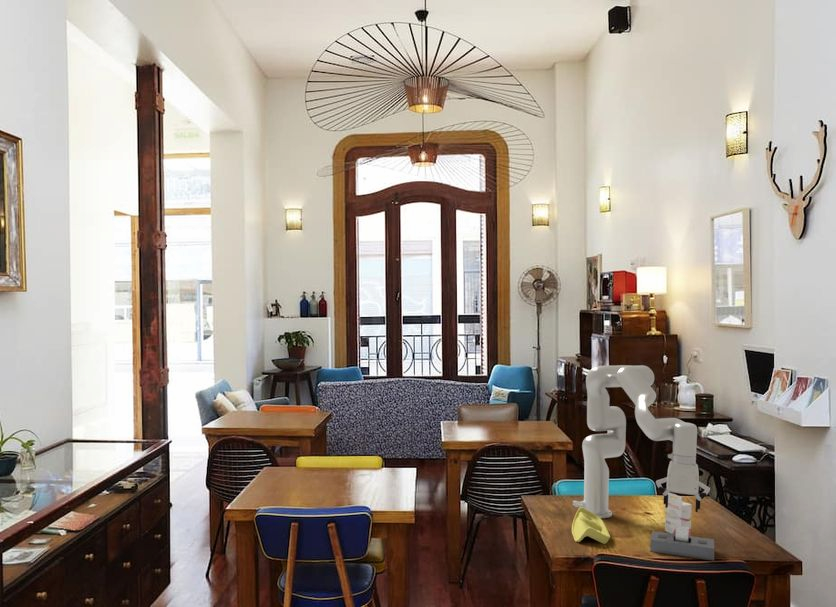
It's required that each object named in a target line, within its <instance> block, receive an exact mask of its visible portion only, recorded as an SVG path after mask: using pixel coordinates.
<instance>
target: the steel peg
mask: <svg viewBox="0 0 836 607" xmlns="http://www.w3.org/2000/svg"><path fill="white" fill-rule="evenodd" d="M675 541H678V542H685V543H689V527H685V526H678V525H676V539H675Z"/></svg>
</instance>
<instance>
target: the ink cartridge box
mask: <svg viewBox="0 0 836 607" xmlns="http://www.w3.org/2000/svg"><path fill="white" fill-rule="evenodd" d="M664 509H665V510H664V513H665V514H664V515H665V516H664V517H665V518H664V531H665V533H671V534H676V525H678V526H685V527H689V536H692V504H691V503H688V502H686V501H683V496H680V495H677V494H676V493H673V492H669V493H668V508H664Z"/></svg>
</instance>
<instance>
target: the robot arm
mask: <svg viewBox="0 0 836 607" xmlns="http://www.w3.org/2000/svg"><path fill="white" fill-rule="evenodd" d="M654 382H655V373H654V372H653V370H652V369H651V368H650V367H649V366H647V365H643V364H641V365H629V364H628V365H626V364H625V365H624V364H623V365H622V364H620V365H618V364H617V365H599V366H595V367H592V368H591V369H589V370H588V372H587V374H586V377H585V386H586V387H585V388H586V394H587V400H586V402H587V403H586V424H587V427H588V428H589V430H591V431H594V432H606V431H607V433H595V434H590V435H588V436H586V437H585V438H584V439H583V441H582V443H581V444H582V445H581V448H582V454H583V455H582V456H583V460H584V461H583V463H584V464H583V465H584V466H583V467H584V471H583V475H584V479H583V500H581V501H578V500H572V506H574V507H575V508H580V507H583V508H585V509H587V510H589V511H590V512H592V513H594V514H595V515H597V516H598V517H599V518H601V519H609V518H611V517H612V516H613V512H612V510H610V509H609V492H610V491H609V488H610V487H609V486H610V483H609V482H610V480H609V478H610V469H609V467H608V464H607V462H606V460H605V459H610V458H611V459H612V458H618V457H620V456H622V455H623V454H624V452H625V450H626V440H627V439H626V437H627V436H626V435H627V434H626V432H627V431H626V430H627V428H626V427H627V418H626V414H625V412H624V411H623V410H622V409H621V407H619V406H614V405H613V406H612V405H611V406H610V401H611V400H610V395H609V393H608V390H607V389H606V388H622V390H624V392H625V393H626V395H627V396H628V397H629V399H630V400H631V401H632V402H633V404H634V406H635V408H634V416H635V417H634V418H635V420H636V423H637V425H638V427H639V428H640V429H641V430H642V432H643V433H644V434H645V436H646V437H648V439H650V440H652V441H655V442H660V441H672V452H671V453H668V454H667V459H670V461H669V464H668V468H667V476H666V477H664V478H660V479H656V481H655V485H656V486H657V488H658V490H659V492H661V494H662V495H663V502H662V503H663V505H665V506H664V507H665V508H668V493H673V494H681V495H687V496H690V495H691V496H694V497H695V513H698V510H701V501H702V500H703V499H704V498H706V497H707V495H708V494H709V493H710V490H711V488H710V487H709V486H707V485H706V484H704V483H703V482H701V481H700V479H699V478H700V477H699V476H700V475H699V474H700V473H699V465H698V464H697V462H696V461H697V441H698V427H697V425H696V424H694V423H691V422H685V421H683V420H681V419H679V418H677V417H664V418H663V417H662V418H661V417H660V418H655V416H654V415H653V414H652V413H651V411H650V410H649V407H650V406H651V405H652V404H653V403H655V401H656V398H657V393H656V391H655V390H654V389H653V387H652V386H653V384H654ZM664 483H666V488H664V487H663V486H662V484H664ZM699 488H701V489H703V490H704V491H703V492H701V493H700V492H699ZM665 508H664V509H665Z"/></svg>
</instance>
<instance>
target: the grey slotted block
mask: <svg viewBox="0 0 836 607" xmlns="http://www.w3.org/2000/svg"><path fill="white" fill-rule="evenodd" d="M650 536H651V537H650V548H649V552H650V553H651V552H653V553H657V554H658V553H659V554H665V555H672V556H679V557H685V558H694V559H700V560H707V561H712V562H713V561H715V538H707V537H701V536H700V537H699V536H694V535H693V536H692V535H691V536H689V543H685V542H678V541H675V539H676V534H671V533H669V532H663V531H656V530H652V532H651V535H650Z"/></svg>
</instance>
